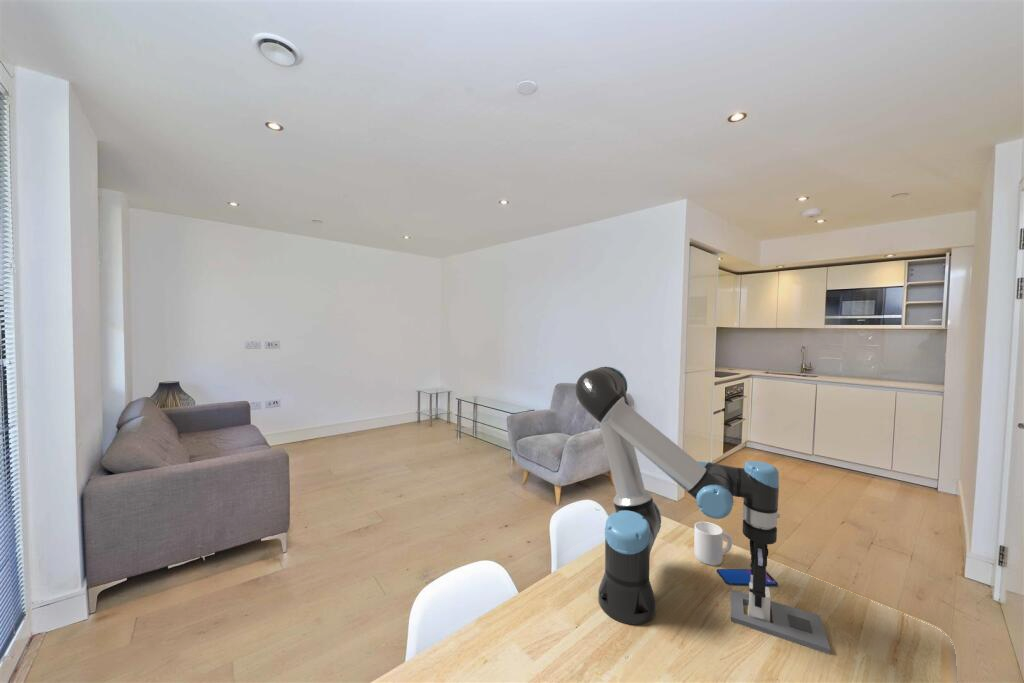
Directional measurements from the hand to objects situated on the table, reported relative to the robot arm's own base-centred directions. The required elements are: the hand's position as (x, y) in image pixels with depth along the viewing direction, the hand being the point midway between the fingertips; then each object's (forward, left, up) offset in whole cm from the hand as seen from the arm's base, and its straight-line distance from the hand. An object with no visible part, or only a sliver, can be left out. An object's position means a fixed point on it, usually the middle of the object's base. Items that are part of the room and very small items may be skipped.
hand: (756, 608), depth 101 cm
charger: (+1, 0, -2) cm, 2 cm away
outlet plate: (+4, 0, -2) cm, 5 cm away
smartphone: (-2, +16, -2) cm, 16 cm away
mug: (-11, +22, -2) cm, 25 cm away
